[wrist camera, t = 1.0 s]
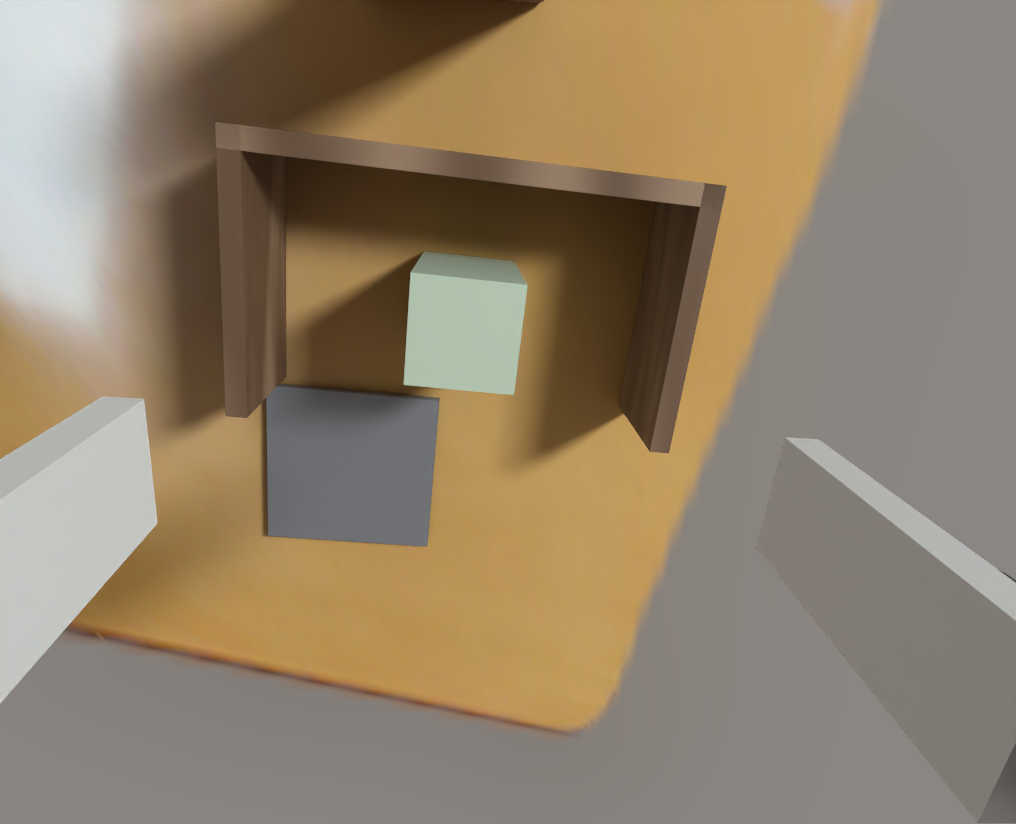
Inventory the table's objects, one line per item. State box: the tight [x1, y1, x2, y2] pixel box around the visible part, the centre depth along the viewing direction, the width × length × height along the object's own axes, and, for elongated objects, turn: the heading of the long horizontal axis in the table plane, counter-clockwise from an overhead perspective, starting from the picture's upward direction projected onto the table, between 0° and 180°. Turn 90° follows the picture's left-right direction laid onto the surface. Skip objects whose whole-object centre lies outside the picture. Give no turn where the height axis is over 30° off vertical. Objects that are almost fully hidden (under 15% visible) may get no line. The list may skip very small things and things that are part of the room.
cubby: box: [215, 122, 726, 453], centre depth 33 cm, size 22×13×7 cm, turn 84°
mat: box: [266, 384, 439, 546], centre depth 39 cm, size 10×10×1 cm
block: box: [404, 251, 528, 395], centre depth 32 cm, size 5×5×9 cm
